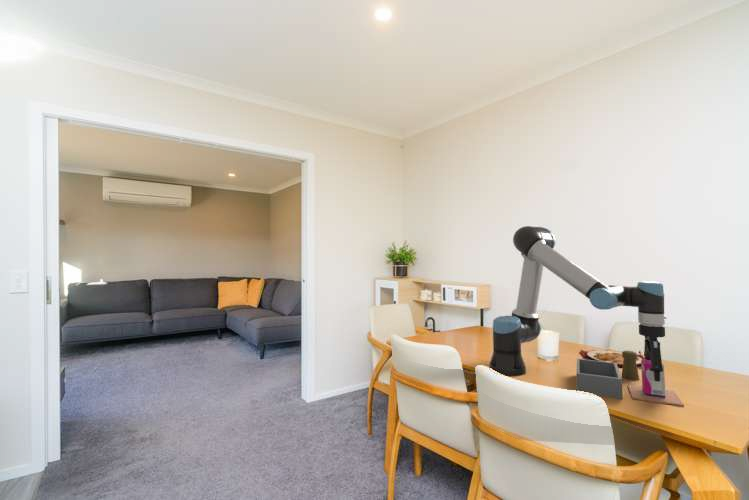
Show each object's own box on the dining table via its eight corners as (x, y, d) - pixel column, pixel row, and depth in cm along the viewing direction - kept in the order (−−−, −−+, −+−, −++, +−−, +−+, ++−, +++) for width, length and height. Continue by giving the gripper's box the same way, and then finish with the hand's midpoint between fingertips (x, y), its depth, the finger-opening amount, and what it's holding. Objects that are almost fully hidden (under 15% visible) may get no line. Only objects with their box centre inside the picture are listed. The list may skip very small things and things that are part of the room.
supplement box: (661, 392, 130) (660, 360, 130) (665, 398, 125) (664, 365, 125) (641, 389, 132) (640, 358, 133) (645, 395, 127) (644, 362, 127)
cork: (642, 380, 144) (641, 353, 144) (625, 380, 145) (624, 352, 145) (634, 375, 150) (633, 349, 150) (618, 375, 151) (617, 349, 151)
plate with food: (580, 353, 188) (580, 346, 188) (641, 357, 177) (641, 350, 177) (586, 367, 166) (586, 359, 166) (657, 372, 155) (656, 364, 155)
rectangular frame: (576, 392, 132) (576, 373, 133) (577, 375, 152) (576, 358, 152) (622, 399, 125) (622, 379, 126) (616, 380, 145) (616, 362, 145)
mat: (632, 398, 126) (632, 397, 126) (627, 386, 138) (627, 384, 138) (683, 406, 119) (683, 404, 119) (674, 392, 131) (674, 391, 131)
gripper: (672, 331, 116) (674, 397, 116) (658, 319, 138) (659, 375, 137) (644, 329, 120) (645, 393, 119) (634, 318, 142) (635, 372, 141)
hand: (653, 383), depth 128 cm, fingers open, 13 cm apart
